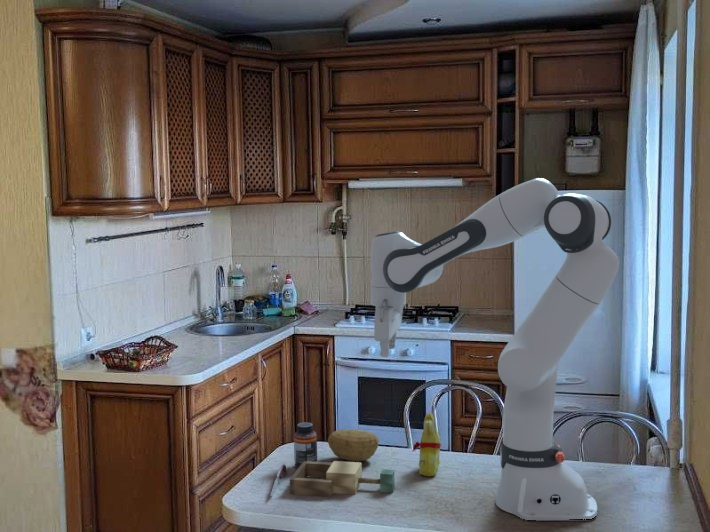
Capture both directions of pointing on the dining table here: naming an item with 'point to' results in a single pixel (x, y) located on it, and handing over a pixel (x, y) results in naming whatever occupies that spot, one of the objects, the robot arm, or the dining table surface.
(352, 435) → the potato
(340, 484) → the oak block with dowel handle
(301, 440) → the supplement bottle
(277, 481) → the knife
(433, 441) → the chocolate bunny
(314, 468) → the tan piece
